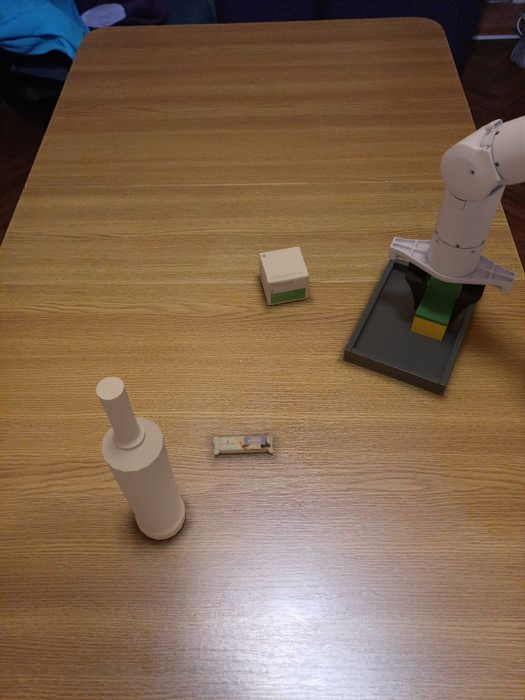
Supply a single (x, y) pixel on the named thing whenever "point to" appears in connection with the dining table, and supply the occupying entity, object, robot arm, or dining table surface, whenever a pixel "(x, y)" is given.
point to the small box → (284, 275)
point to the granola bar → (243, 444)
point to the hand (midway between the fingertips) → (436, 310)
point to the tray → (403, 336)
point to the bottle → (140, 464)
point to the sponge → (435, 308)
